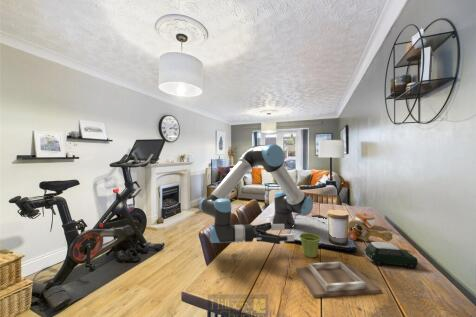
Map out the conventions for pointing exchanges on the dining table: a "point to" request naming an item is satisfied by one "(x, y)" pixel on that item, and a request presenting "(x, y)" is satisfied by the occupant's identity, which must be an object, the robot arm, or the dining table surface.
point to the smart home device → (319, 216)
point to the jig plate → (335, 280)
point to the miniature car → (390, 255)
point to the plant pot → (310, 244)
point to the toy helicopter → (365, 230)
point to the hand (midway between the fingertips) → (288, 231)
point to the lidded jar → (368, 217)
